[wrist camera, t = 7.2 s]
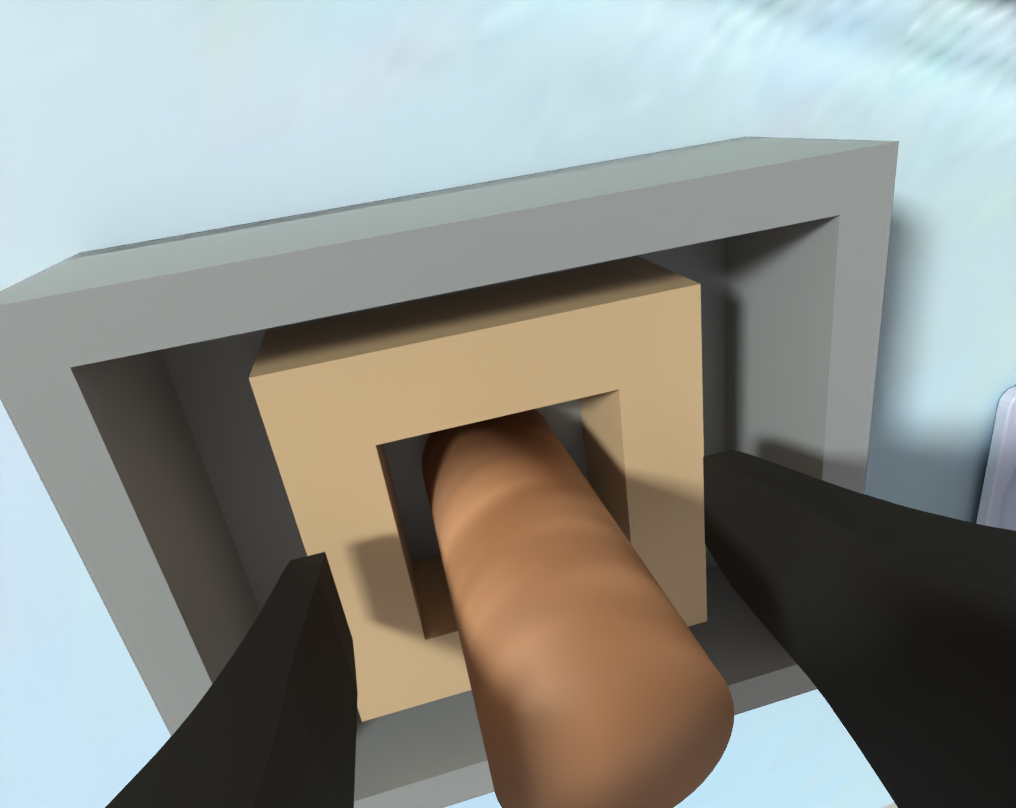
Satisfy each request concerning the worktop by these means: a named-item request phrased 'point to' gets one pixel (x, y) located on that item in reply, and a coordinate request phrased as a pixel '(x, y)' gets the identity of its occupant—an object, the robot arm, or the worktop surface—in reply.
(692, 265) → the tray
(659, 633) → the peg
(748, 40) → the worktop surface
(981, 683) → the robot arm
